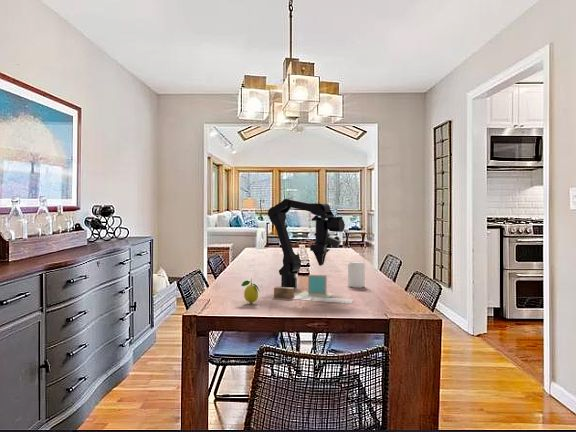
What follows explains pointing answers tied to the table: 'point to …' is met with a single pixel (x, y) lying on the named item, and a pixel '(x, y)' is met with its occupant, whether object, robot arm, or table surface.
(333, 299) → the tool pad
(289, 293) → the turner
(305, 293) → the felt mat
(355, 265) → the grey cylinder
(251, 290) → the lemon
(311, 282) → the tile
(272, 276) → the table surface
